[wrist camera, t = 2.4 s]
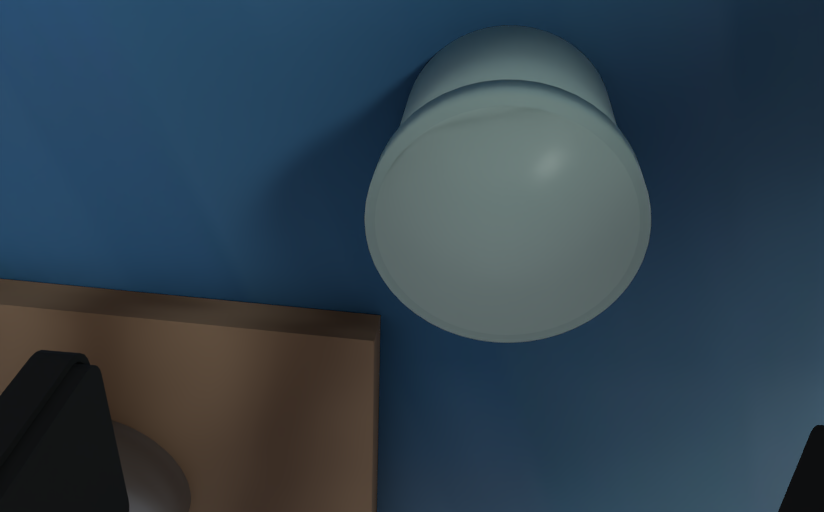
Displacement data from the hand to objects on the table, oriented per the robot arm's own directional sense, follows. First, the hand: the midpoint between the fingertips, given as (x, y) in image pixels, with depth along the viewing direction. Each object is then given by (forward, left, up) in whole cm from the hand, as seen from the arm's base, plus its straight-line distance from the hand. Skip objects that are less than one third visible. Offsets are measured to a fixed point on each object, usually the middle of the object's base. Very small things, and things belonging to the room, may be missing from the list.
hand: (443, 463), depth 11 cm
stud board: (+11, +13, -11) cm, 20 cm away
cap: (-1, 0, -11) cm, 11 cm away
